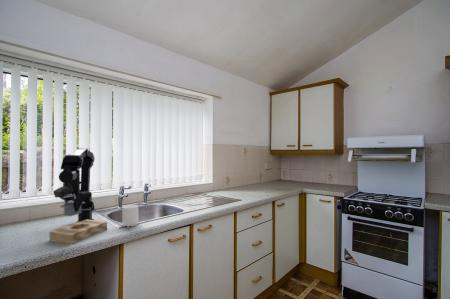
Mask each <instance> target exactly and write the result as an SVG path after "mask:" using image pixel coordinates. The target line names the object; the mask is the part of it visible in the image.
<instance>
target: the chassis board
mask: <svg viewBox="0 0 450 299" xmlns="http://www.w3.org/2000/svg"><path fill="white" fill-rule="evenodd" d="M106 230H108V221H103V220H97V219H94V220H88V219H86V220H83V221H80V222H77V221H76V222H75V223H71V224H67V225H66V226H63V227H60V228H57V229H54V230H50V231H49V241H53V242H59V243H63V244H70V245H73V244H75V243H78V242H80V241H82V240H85V239H87V238H89V237H92V236H94V235H97V234H100V233H102V232H104V231H106Z"/></svg>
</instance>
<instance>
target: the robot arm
mask: <svg viewBox="0 0 450 299" xmlns="http://www.w3.org/2000/svg"><path fill="white" fill-rule="evenodd" d="M94 162H95V155H94V153H93V152H92V151H90V150H89V148H85V147H81V148H80V147H79V148H77V149H76V150H75V151H74V152H73V153H70V154H65V155H64V157H63V158H62V161H61V166H60V170H62V171H61V172H60V173H59V174H58V179H59V181H60V182H62V183H63V186H61V187H59V188H57V189H54V190H52V192H53V195H54V197H55V198H56V199H57V198H58V199H61V200H62V201H64V203H66V202H68V201H74V207H75V212H78V210H79V208H80V206H81V208H82V213H79V214H77V221H76V223H77V222H80V221H83V220H86V219H88V220H95V219H94V218H93V212H94V211H95V209H96V208H95V203H94V200H93V196H92V195H93V194H92V192H91V191H90V178H91V169H92V168H93V166H94ZM80 169H81V170H80ZM82 202H85V203H83V204H82Z"/></svg>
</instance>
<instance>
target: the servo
mask: <svg viewBox="0 0 450 299" xmlns="http://www.w3.org/2000/svg"><path fill="white" fill-rule="evenodd" d="M83 203H85V202H82V204H83ZM59 207H60V208H63V212H64V216H66V217H72V216H75V215H79V213H82V208H81V206H80V208H79V210H78V212H75V207H74V201H68V202H66V203H65V202H64V203H63V205H62V204H60V206H59Z"/></svg>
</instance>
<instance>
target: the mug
mask: <svg viewBox="0 0 450 299" xmlns="http://www.w3.org/2000/svg"><path fill="white" fill-rule="evenodd" d="M121 210H122V213H121V214H122V217H121V218H122V219H121V220H122V223H121V224H122V226H123V227H125V226H127V228H130V227H129V226H132V227H134V226H135V227H136V226H137V225H138V224H139V205H138V204H127V205H123V206H122V209H121Z"/></svg>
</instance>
